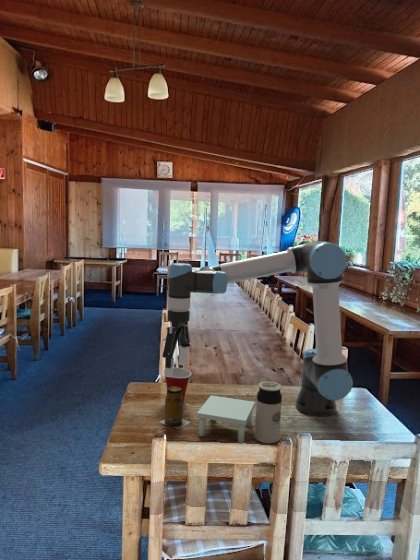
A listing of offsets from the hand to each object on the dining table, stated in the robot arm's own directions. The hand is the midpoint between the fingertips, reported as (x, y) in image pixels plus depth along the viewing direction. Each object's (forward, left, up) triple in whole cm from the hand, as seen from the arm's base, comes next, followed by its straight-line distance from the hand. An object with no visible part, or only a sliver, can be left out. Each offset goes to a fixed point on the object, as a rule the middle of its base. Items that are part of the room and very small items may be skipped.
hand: (176, 370), depth 153 cm
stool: (-18, -1, -19) cm, 26 cm away
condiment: (0, 0, -19) cm, 19 cm away
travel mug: (-32, 0, -19) cm, 37 cm away
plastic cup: (+6, -18, -19) cm, 27 cm away
